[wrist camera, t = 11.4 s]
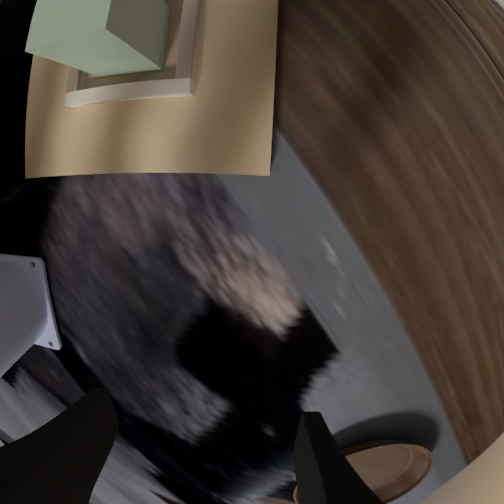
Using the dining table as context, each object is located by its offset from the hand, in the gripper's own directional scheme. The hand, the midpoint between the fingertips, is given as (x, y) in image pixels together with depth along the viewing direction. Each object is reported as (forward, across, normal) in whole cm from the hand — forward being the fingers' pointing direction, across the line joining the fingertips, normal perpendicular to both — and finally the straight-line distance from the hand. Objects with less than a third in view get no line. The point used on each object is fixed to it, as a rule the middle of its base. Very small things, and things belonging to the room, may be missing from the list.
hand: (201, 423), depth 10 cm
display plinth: (+10, +6, -16) cm, 20 cm away
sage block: (+9, +6, -16) cm, 19 cm away
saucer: (+11, -14, +20) cm, 27 cm away
